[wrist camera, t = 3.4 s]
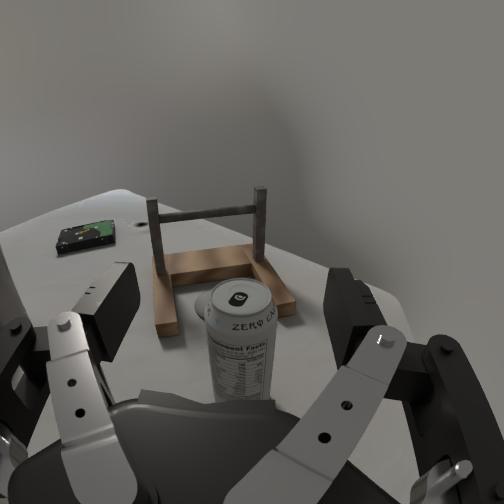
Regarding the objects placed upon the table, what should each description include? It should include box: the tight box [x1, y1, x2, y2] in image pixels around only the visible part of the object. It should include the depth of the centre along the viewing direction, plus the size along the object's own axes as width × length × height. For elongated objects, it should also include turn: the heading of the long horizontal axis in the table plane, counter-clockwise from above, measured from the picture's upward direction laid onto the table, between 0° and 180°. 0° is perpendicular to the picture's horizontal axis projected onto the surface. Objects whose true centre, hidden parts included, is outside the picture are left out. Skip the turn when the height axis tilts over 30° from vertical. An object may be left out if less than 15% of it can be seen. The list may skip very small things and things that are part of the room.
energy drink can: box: [204, 278, 278, 403], centre depth 27 cm, size 6×6×15 cm
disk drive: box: [56, 220, 115, 255], centre depth 65 cm, size 10×3×15 cm
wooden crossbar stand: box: [146, 186, 296, 338], centre depth 46 cm, size 20×19×16 cm
